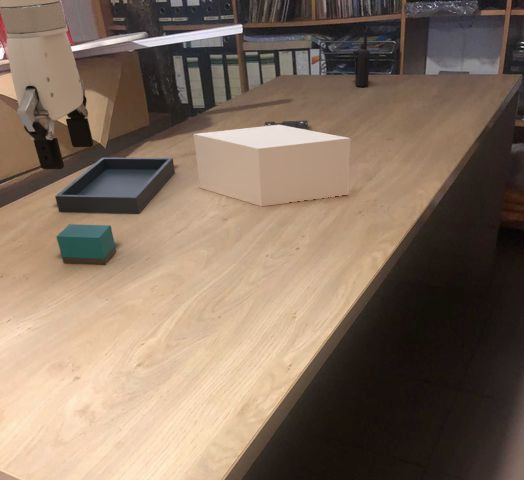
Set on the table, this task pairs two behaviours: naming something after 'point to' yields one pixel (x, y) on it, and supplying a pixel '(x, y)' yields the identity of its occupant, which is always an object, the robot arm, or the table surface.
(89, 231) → the eraser
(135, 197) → the tray
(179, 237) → the table surface
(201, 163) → the white rectangular box
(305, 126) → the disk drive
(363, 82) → the two-way radio
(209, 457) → the table surface
